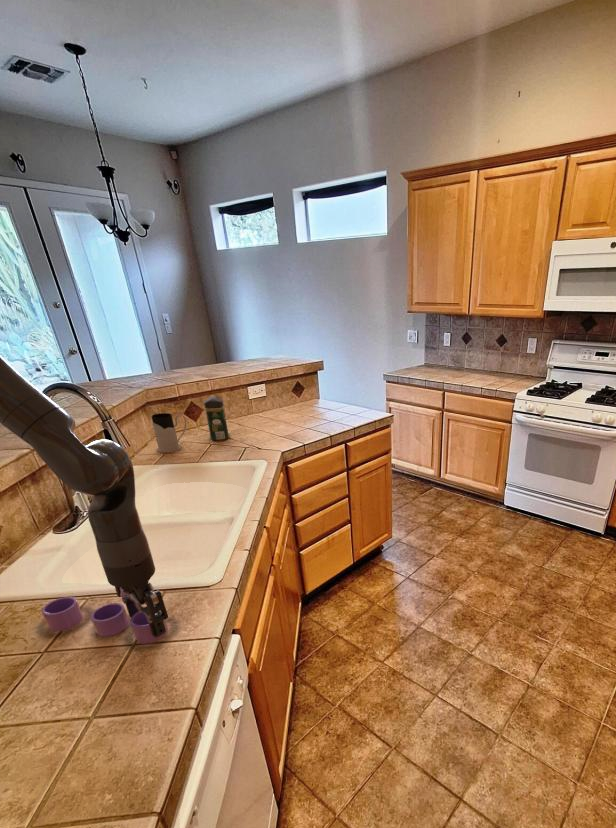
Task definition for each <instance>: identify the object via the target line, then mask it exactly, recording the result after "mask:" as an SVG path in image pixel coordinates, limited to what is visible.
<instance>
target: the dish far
mask: <svg viewBox="0 0 616 828" xmlns="http://www.w3.org/2000/svg"><path fill="white" fill-rule="evenodd" d="M148 612H149V611H148ZM156 613H157V612H156ZM156 613H155V614H156ZM166 620H167V619H165V620H163V622H164V626H165V629H166V632H165V633H164V634H162V635H160V636H158V637H154V636H153V635H152V632H151V629H150V626H149V623H148V621H147V618H146V617H145V615H144V614H143V613H140V612H137V613H136V614H134V615H133V616H132V618H131V617H130V619H129V626H130V627H131V630H132V633H133V636H134V638H135V640H136V642H137V643H139V644H152V643H156V642H158V641H159V640H160V639H162V638H164V637H165V636H166V634H167V633H168V631H169V628H168V624H167V621H166Z"/></svg>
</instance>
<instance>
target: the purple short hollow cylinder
mask: <svg viewBox="0 0 616 828" xmlns="http://www.w3.org/2000/svg"><path fill="white" fill-rule="evenodd" d="M41 615H42V616H43V619H44V620H45V623H46V625H47V628H49V630H50V631H52V632H64V631H67V630H70V629H72V628H74V627H76V626H77V625H79V624H80V623H82V621H83V619H84V615H83V612H82V609H81V607H80V605H79V601H78V600H77V599H76V597H73V596H64V597H61V598H60V597H59V598H56V599H53V600H51V601H49V602H48V603H46V604H45V605H44V606H43V607H42V608H41Z"/></svg>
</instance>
